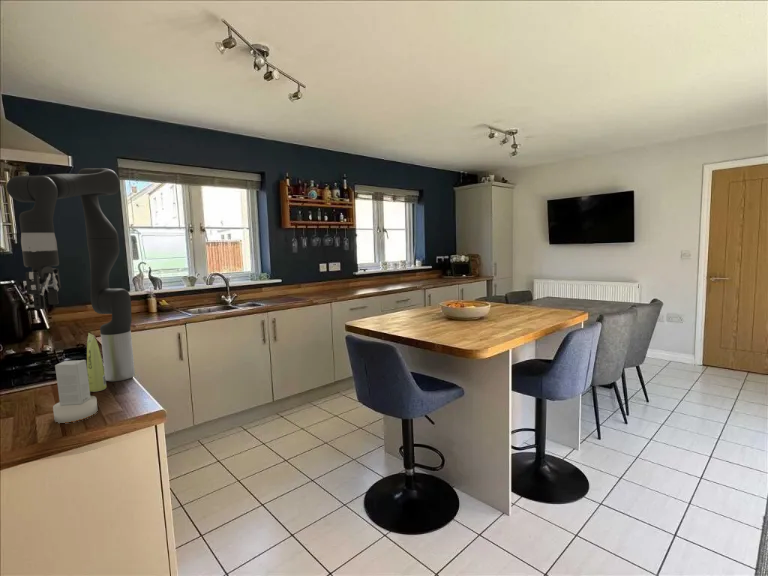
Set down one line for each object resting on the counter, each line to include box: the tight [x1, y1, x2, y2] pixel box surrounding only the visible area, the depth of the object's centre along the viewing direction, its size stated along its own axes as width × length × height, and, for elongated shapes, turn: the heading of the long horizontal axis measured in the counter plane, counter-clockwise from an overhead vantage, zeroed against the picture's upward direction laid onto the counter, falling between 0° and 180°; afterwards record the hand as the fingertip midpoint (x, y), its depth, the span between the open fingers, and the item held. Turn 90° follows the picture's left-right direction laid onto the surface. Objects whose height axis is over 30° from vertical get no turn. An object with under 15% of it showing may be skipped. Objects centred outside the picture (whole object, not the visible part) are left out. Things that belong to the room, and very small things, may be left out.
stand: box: [52, 395, 99, 424], centre depth 116 cm, size 10×10×4 cm
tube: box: [86, 332, 108, 393], centre depth 135 cm, size 6×5×20 cm
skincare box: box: [54, 359, 91, 405], centre depth 115 cm, size 6×4×12 cm
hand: (47, 306), depth 113 cm, fingers open, 8 cm apart
